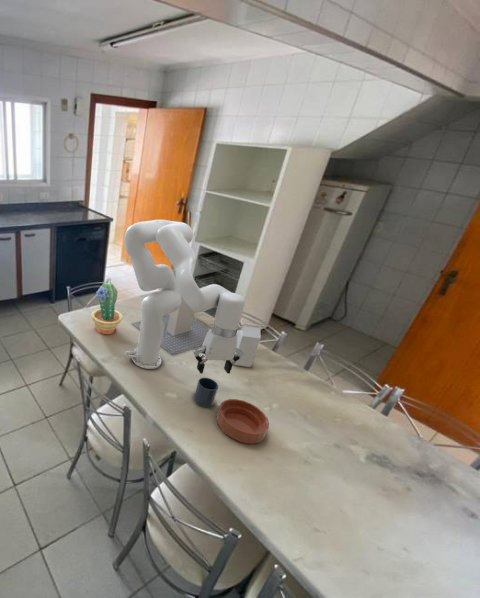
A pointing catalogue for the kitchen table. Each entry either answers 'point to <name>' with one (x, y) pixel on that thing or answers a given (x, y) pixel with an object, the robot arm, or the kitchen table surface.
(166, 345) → the grey base with block
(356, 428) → the kitchen table surface
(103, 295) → the potted cactus
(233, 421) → the bowl
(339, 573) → the kitchen table surface
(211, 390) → the cup
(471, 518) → the kitchen table surface
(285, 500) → the kitchen table surface
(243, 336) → the milk carton
